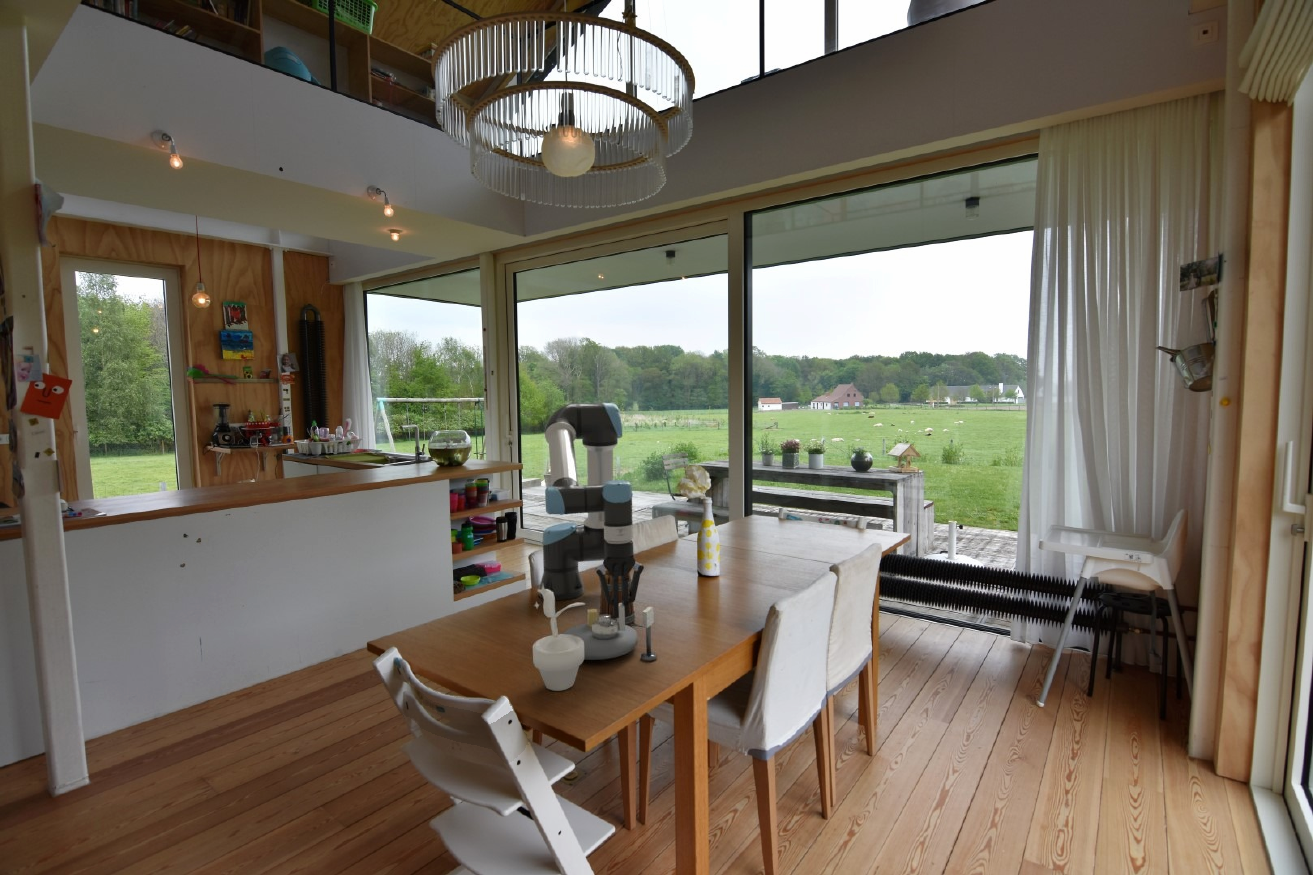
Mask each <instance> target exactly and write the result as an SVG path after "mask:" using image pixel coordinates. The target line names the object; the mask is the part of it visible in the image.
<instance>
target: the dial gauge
mask: <svg viewBox="0 0 1313 875" xmlns="http://www.w3.org/2000/svg"><path fill="white" fill-rule="evenodd" d="M654 617H655V616H654V607H653V606H648V607H646V608H645V609H644V610H642V618H641V619H642V624H637V623H633V624H631V626H633V627H639V628H643V629H645V641H646V642H645V643H646V644H645V645H646V646H645V647H646V650H645V652H642V653H641V654H640V660H641V661H643V662H654V661H657V659H658V655H657V653H656V652H653V651H652V633H651V632H652V628H651V627H652V625H653V624H654V622H655V620H654ZM631 626H630V627H631Z"/></svg>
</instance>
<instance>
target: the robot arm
mask: <svg viewBox="0 0 1313 875" xmlns="http://www.w3.org/2000/svg"><path fill="white" fill-rule="evenodd" d="M622 437H623V424H622V417H621V414H620V409H619V407H618V405H617V404H616V403H613V402H612V403H611V402H584V403H575V402H573V403H567V404H564V405H563V406H561V407H559V408H558V409H556V410H555V411H554V412H553V413H552V414H551V415H550V416H549V418H548V420H547V421H546V424H545V428H544V439H545V441H546V443H547V444H548V450H549V451H548V452H549V467H550V483H551V484H550V485H551V486H548V487H546V488H545V490H544V495H545V496H544V497H545V498H544V501H545V512H546V513H547V514H548V515H561V516H562V515H573V514H574V515H576V514H587V517H586V519H584V520H583V526H580V527H578V524H577V523H575V522H563V523H557V524H553V525H551V526H549V527H547V528H546V529H544V530H543V532H542V542H541V543H542V544H541V545H542V553H543V554H542V556H543V557H542V558H543V559H542V560H543V562H542V563H543V573H542V576H541V581H540V584H539V586H538V590H541V589H542V586H544V589H549V590H550V591H552V592H553V594H554V597H555V601H563V600H565V601H566V600H571V599H575V598H579V597H581V596H582V595H584V593H585V584H584V582H583V580H582V576H581V573H580V571H579V563H580V562H581V563H582V562H595V561H596V562H597V561H602V565H600V566H599V567H595V569H594V572H595V573H596V574H597V576H598V577H599V578H598V579H599V581H600V586H601V585H602V589H603V593H604V596H605V600H606V602H607V603H608V605H613V615H614V617H615V618H617V621H618V623H619V631H625V617H628V606H629V603H631V602H633V603H634V602H635V601H636V596H637V592H638V587H639V584H640V578H641V574H642V572H643V570H644V569H645V566H644V565H643V564H642V563H639V562H637V561H636V559H635V556H634V541H633V538H634V530H633V528H634V526H633V522H634V521H633V491H632V483H631V482H630V481H628V480H620V479H618V480H614V449H615V447H616V446H617V445H618V443H619V442H618V439H621V438H622ZM575 440H582V444H581V445H583V446H584V448H586V455H587V456H586V458H587V459H586V461H587V462H586V464H587V465H586V466H587V468H586V469H587V474H586V475H587V484H586V485H579V478H578V476H579V475H578V469H577V468H578V467H577V461H576V460H577V459H576V452H575ZM632 569H633V570H634V571H633V573H632V578H631V580H632V582H631V587H630V592H629V597H628V574H629V572H630V573H631V571H632ZM606 570H608V572H609V573H610V574H611V578H612V599H611V596H610V593H609V589H608V586H607V582H606V578H605V576H604V574H605V571H606ZM619 576H621V586H622V603H619V588H618V580H619ZM538 595H539V597H540V598H541V599H544V598H543V595H542V594H541V593H540V592H538Z"/></svg>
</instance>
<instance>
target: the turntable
mask: <svg viewBox="0 0 1313 875" xmlns="http://www.w3.org/2000/svg"><path fill="white" fill-rule="evenodd" d="M586 613H587V623H584V624H578V625H576V626H573V627H570V628H568V629H567V630H565V631H564V632H562V634H567V635H574V636H577V637H580V638H581V639H582V640H583V641H584V660H586V661H587V660H589V661H590V660H591V661H594V660H595V661H597V660H599V661H600V660H607V659H613V658H617V657H620V656H623V655H626V654H628V653H630V652H631V651H633V650H634V649H635V648H637V645H638V632H637V631H636V630H635V628H634V627H631V626H627V625H625V631H619V636H618V637H617V638H615V639H611V640H597V639H594V638H593V637H592V623H593V622H595V621H597V620H599V612H598V610H597V608H591V609H587V612H586Z"/></svg>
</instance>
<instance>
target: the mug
mask: <svg viewBox="0 0 1313 875" xmlns="http://www.w3.org/2000/svg"><path fill="white" fill-rule="evenodd" d="M604 576H605V578H606V582H607V586H608V589H609V593H610V596H611V599H612V578H611V574H610V573H609V572H608V570H607V569H605V574H604ZM631 582H632V578H631V571H630V572H629V574H628V597H629V592H630V587H631ZM618 588H619V603H622V586H621V576H619V580H618ZM599 603H600V604H599V605H600V606H599V612H598V617H599V616H600V615H603V614H609V615H611V619H612V620H616V621H617V618H615V617H614V615H613V605H608V603H607V602H606V600H605V596H604V593H603V589H602V585H601V584H600V602H599ZM635 619H636V613H635V610H634V602H631V603H629V606H628V617H625V625H627V626H630V627H631V624H635Z"/></svg>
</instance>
